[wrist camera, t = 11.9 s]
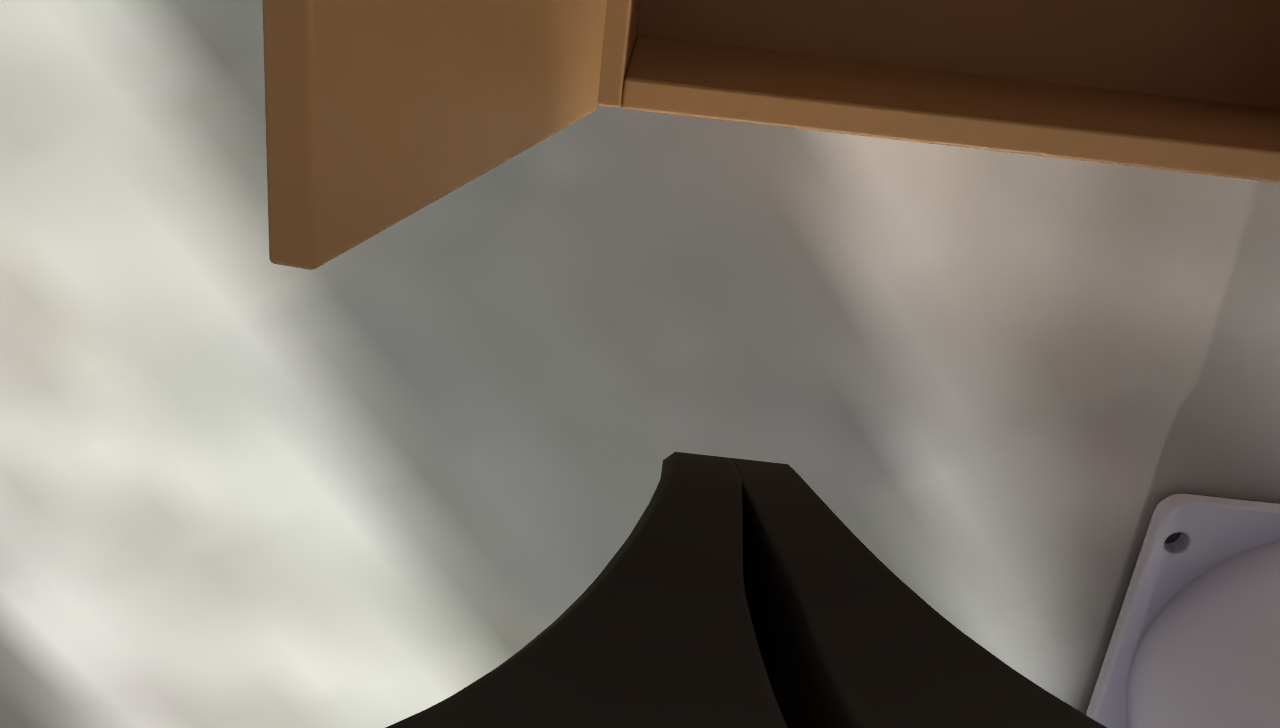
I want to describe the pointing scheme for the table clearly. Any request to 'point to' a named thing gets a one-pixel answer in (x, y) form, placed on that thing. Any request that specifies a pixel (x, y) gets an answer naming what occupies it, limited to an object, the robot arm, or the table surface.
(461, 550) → the table surface
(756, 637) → the robot arm
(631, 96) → the box
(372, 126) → the box flap
